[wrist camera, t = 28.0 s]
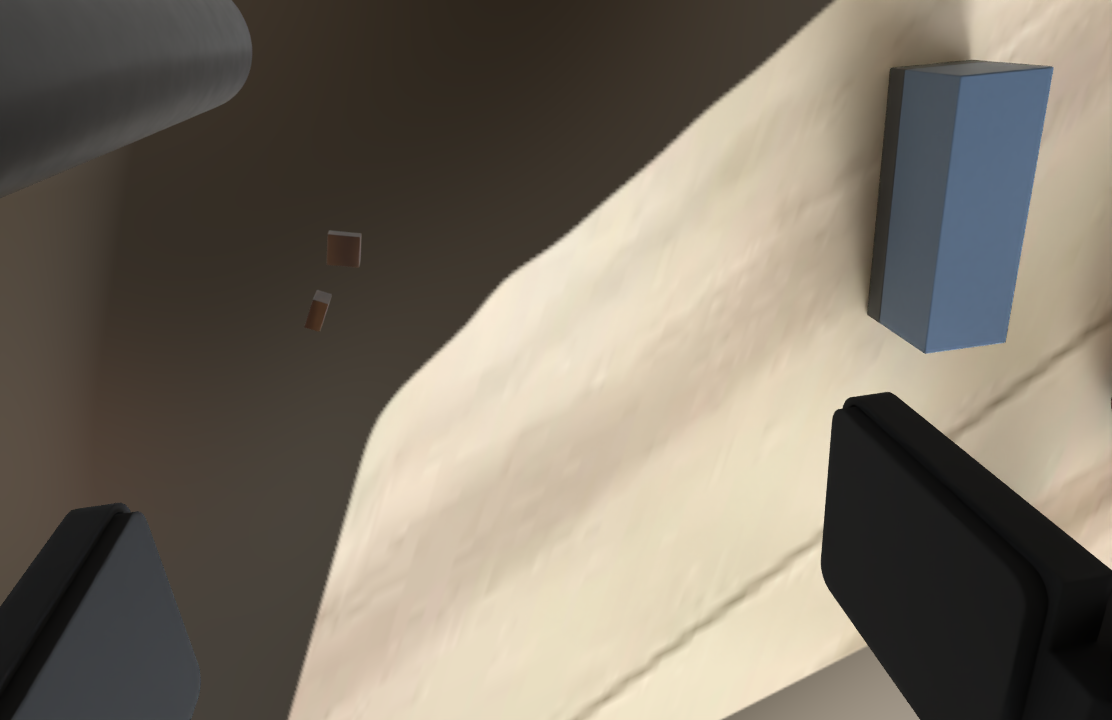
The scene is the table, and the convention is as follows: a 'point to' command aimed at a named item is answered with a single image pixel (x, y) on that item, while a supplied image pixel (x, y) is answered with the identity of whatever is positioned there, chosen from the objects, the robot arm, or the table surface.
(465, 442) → the table surface
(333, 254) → the brown wooden block
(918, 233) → the blue rectangular block
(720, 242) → the table surface
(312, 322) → the chip
